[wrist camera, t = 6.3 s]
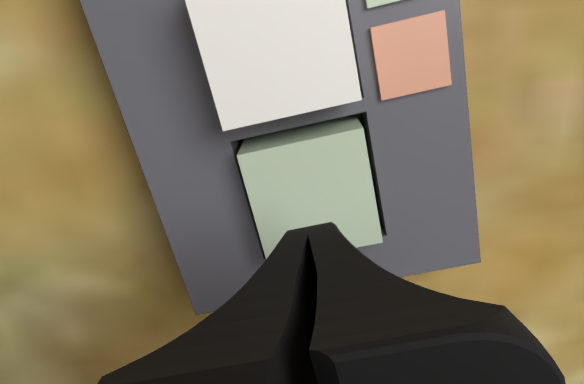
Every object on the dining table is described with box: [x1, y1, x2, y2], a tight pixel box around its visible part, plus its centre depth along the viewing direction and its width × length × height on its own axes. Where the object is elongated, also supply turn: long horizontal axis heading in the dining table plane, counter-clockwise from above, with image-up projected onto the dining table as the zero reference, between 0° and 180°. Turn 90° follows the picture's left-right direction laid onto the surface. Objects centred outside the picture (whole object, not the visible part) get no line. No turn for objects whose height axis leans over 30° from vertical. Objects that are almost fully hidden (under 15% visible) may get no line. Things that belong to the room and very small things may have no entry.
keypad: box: [80, 0, 481, 315], centre depth 16 cm, size 20×12×3 cm, turn 13°
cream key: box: [185, 0, 362, 131], centre depth 14 cm, size 4×4×4 cm
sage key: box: [237, 114, 383, 259], centre depth 17 cm, size 4×4×4 cm
